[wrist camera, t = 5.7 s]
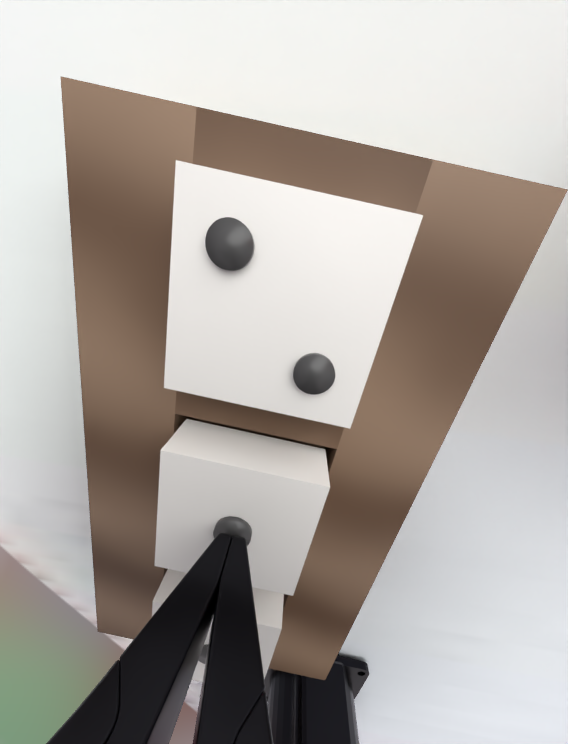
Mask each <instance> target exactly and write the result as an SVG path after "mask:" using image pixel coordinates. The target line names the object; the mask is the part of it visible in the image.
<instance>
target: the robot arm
mask: <svg viewBox="0 0 568 744" xmlns="http://www.w3.org/2000/svg"><path fill="white" fill-rule="evenodd" d="M212 619H213V621H212ZM211 622H212V626H211V632H210V638H209V644H208V650H207V657H206V663H205V669H204V676H203V682H202V688H201V695H200V701H199V707H198V714H197V721H196V727H195V733H194V740H193V744H359V738H358V730H357V722H356V713H355V705H354V699H355V697H356V696H357V694H358V692H359V691H360V689H361V687H362V686H363V684H364V682H365V681H366V679H367V677H368V676H369V670H368V665H367V663H365V662H363V661H359V660H354V659H350V658H345V657H340V656H337V657H336V659H335V661H334V663H333V665H332V667H331V669H330V671H329V673H328V675H327V677H326V679H325V680H321V679H316V678H311V677H307V676H302V675H297V674H293V673H288V672H283V671H279V670H274V669H269V668H268V671H267V674H266V676H265V679H264V674H263V666H262V658H261V651H260V643H259V635H258V628H257V620H256V612H255V605H254V597H253V589H252V582H251V574H250V566H249V559H248V551H247V543H246V539H245V538H244V537H239V536H233V537H232V535H230V534H225V533H219V534H218V535H217V536H216V537H215V539H214V540H213V541H212V542H211V544H210V545H209V546H208V547H207V549H206V550H205V551H204V552H203V554H202V555H201V556H200V557H199V559H198V560H197V561H196V562H195V564H194V565H193V566H192V567H191V569H190V570H189V571H188V572H187V574H186V575H185V576H184V577H183V579H182V580H181V581H180V582H179V584H178V585H177V586H176V587H175V589H174V590H173V591H172V592H171V594H170V595H169V596H168V597H167V599H166V600H165V601H164V602H163V604H162V605H161V606H160V607H159V609H158V610H157V611H156V612H155V614H154V615H153V616H152V617H151V619H150V620H149V621H148V622H147V624H146V625H145V626H144V627H143V629H142V630H141V631H140V632H139V634H138V635H137V636H136V637H135V639H134V640H133V641H132V642H131V644H130V645H129V646H128V647H127V649H126V650H125V651H124V652H123V654H122V655H121V657H120V661H119V660H118V661H116V662H115V664H114V665H113V666H112V667H111V668H110V670H109V671H108V672H107V674H106V675H105V676H104V677H103V679H102V680H101V681H100V682H99V683H98V685H97V686H96V687H95V688H94V689H93V691H92V692H91V693H90V694H89V696H88V697H87V698H86V699H85V700H84V701H83V703H82V704H81V705H80V706H79V707H78V709H77V710H76V711H75V712H74V713H73V714H72V716H71V717H70V718H69V719H68V720H67V721H66V722H65V723H64V724H63V726H62V727H61V728H60V729H59V730H58V731H57V732H56V733H55V735H54V736H53V737H52V738H51V739H50V740H49V741H48V742H47V743H46V744H169V741H170V738H171V736H172V733H173V730H174V727H175V725H176V722H177V719H178V716H179V713H180V711H181V708H182V705H183V702H184V699H185V696H186V694H187V691H188V688H189V685H190V682H191V680H192V677H193V674H194V671H195V668H196V665H197V663H198V660H199V657H200V654H201V651H202V648H203V646H204V643H205V640H206V637H207V634H208V631H209V628H210V625H211ZM267 702H268V703H267Z"/></svg>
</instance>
